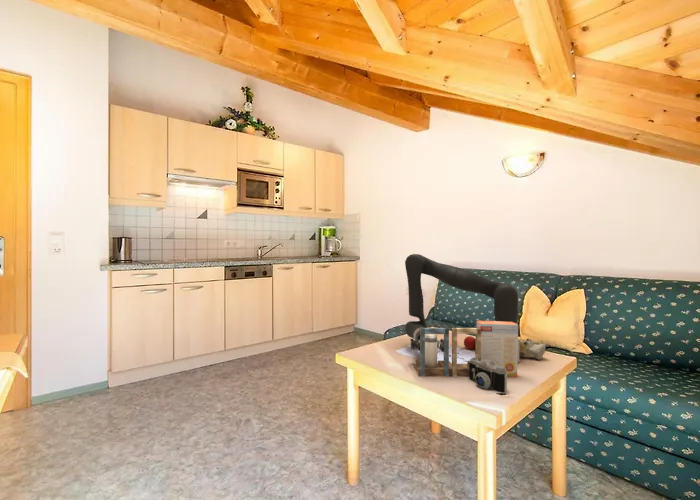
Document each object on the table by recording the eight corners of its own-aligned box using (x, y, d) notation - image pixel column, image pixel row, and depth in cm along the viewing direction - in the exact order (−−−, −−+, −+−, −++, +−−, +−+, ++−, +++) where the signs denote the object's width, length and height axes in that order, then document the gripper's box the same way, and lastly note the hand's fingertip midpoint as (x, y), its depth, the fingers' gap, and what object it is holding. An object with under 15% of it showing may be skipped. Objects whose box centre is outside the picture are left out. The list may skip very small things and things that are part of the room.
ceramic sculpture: (544, 343, 145) (506, 339, 153) (545, 363, 145) (507, 359, 153) (546, 337, 154) (510, 334, 162) (547, 357, 154) (511, 353, 162)
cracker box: (511, 374, 133) (513, 321, 133) (517, 380, 127) (519, 324, 127) (474, 372, 135) (476, 319, 134) (479, 378, 129) (480, 323, 128)
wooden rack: (469, 366, 142) (470, 320, 142) (482, 379, 128) (483, 329, 128) (412, 365, 142) (412, 320, 142) (418, 379, 128) (419, 328, 128)
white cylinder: (435, 368, 137) (435, 333, 137) (439, 372, 132) (438, 336, 132) (423, 368, 137) (422, 333, 137) (425, 372, 132) (425, 336, 132)
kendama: (500, 350, 167) (462, 343, 171) (503, 338, 166) (464, 331, 170) (503, 358, 160) (463, 350, 164) (506, 346, 159) (465, 338, 163)
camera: (461, 382, 125) (461, 355, 125) (473, 379, 128) (473, 352, 128) (496, 398, 112) (496, 368, 112) (509, 394, 116) (509, 364, 116)
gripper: (407, 329, 148) (414, 339, 132) (439, 329, 148) (450, 339, 132) (407, 346, 148) (413, 358, 132) (439, 346, 148) (450, 359, 132)
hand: (432, 349), depth 132 cm, fingers open, 8 cm apart
